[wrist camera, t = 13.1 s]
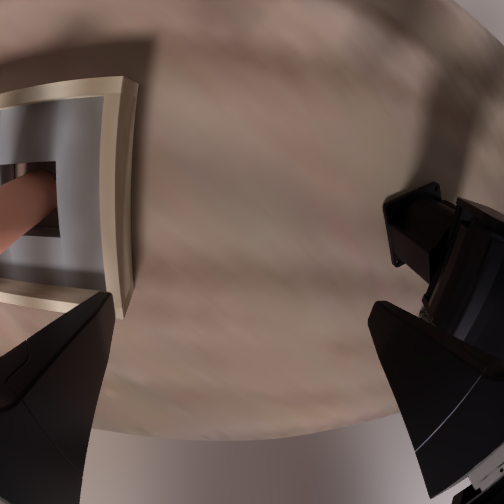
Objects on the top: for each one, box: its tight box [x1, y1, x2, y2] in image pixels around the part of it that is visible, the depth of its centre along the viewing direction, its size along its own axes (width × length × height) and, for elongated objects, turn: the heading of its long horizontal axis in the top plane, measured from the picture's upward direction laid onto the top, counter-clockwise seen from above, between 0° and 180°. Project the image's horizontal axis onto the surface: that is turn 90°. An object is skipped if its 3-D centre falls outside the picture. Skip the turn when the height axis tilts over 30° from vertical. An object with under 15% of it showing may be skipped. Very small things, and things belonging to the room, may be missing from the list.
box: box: [0, 76, 139, 320], centre depth 16 cm, size 16×16×4 cm
